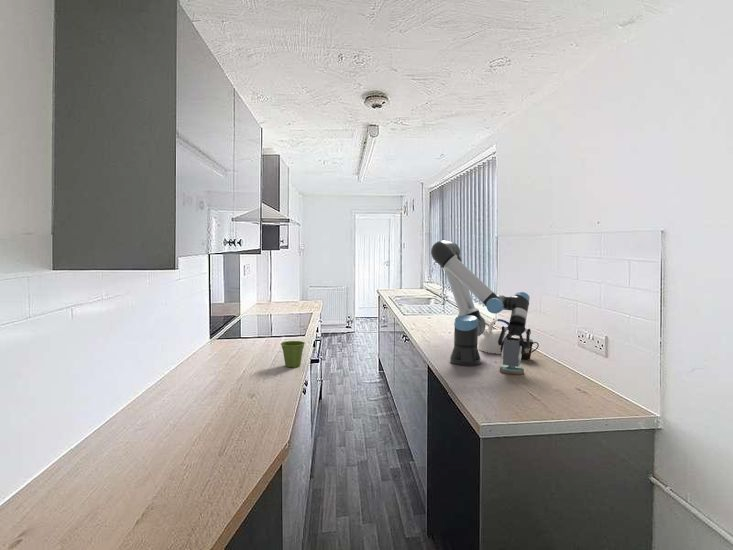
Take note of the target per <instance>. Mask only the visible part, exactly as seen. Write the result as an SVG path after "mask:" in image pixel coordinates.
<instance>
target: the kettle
mask: <svg viewBox="0 0 733 550" xmlns="http://www.w3.org/2000/svg"><path fill="white" fill-rule="evenodd" d="M496 322H501V323H504V324H506V325H507V327H508V326H509V322H510V321H507V320H504V319H500V318H495V319H492V320H491V321H490V323H489V325H488V328H487V329H486V328H485V330H484V332H483V333H482V334H481V335H482V336H480V339H479V341H478V342H479V343H478V348H479V349H478V351H479V350H480V351H481V352H483V351H484V353H487V352H488V354H494V353H496V354H495V355H502V352H501V350H500V349H501V345H498V340H499V337H500V334H501V331H502V329H493V326H494V324H495V323H496ZM507 334H508V332H507V331H506V332H505V335H504V338H505V337H506V336H507ZM504 338H503V340H504ZM503 340H502V341H503Z"/></svg>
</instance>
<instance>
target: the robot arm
mask: <svg viewBox="0 0 733 550" xmlns="http://www.w3.org/2000/svg"><path fill="white" fill-rule="evenodd" d="M430 254H431V257H432V259H433V260H434V261H435V263H437V265H439V266H440V269H441V270H444V272H445V275H446V277H447V280H448V283H449V287H450V289H451V292H452V295H453V298H454V301H455V303H456V307H457V309H458V315H457V317H456V318H455V319H454V324H453V325H454V332H453V333H454V335H453V337H454V341H453V343H454V344H453V348H452V352H451V354H450V357H449V358H450V359H449V361H451V362H453V363H455V364H454V365H457V364H458V365H459V366H463V365H464V367H465V366H466V367H472V366H473V367H474V366H479V365H480V364H481V362H482V361H481V356H480V352H479V349H478V342H479V341H478V340H479V339H478V337H481V335H483V334H482V333H483V332H484V330H485V329H486V327H487V326H486V320H485V319H484V317H483V315H481V312H480V310H479V309H478V308H476V307H475V304H474V302H473V298H472V295H471V293H472V294H473V295H474V296H475V297H476V298H477V299H478V300H479V301H480V302H481V303H482V304H483V305H484V306H485V307H486V310H487V311H488V312H489V313H491V314H499V313H500V312H502V311H511V312H510V313H511V314H510V318H509V321H508V322H509V326H508V325H507V326H501V330H502V331H501V334H500V337H499V340H498V345H501V349H500V350H501V352H502V354H500V357H501V359H502V360H503V348H504V340H503V338H504V335H505V332H506V333H507V336H506V337H511V338H513V336H517V337H518V338H520V339H522V340H521V344H522V346H520V351H519V357H518V359H519V361H521V362H522V360H521V356H522V354H523V355H524V352H525V349H526V348H528V349H529V345H530V339H531V337H530V335H531V334H532V331H531V328H528V329H527V328H526V323H527V317H528V312H529V306H530V300H531V299H530V295H529V294H528V293H527V292H524V291H519V292H516V293H515V294H514V295H505V294H504V295H502V294H496V293H495V292H494V291H493V290H492V289H491V288H490V287H489V286H488V285H486V284H485V283H484V281H482V280H481V279H480V278H479V277H478V276H477V275H476V274H475V273H473V271H472V270H470V269H469V268H468V267H467V266H466V265H465V264H464V263H463V260H462V258H461V248H460V247H459V245H458V244H457V243H456V242H454V241H452V240H439V241H436V242H435V243H434V244H433V245H432V247H431V250H430ZM523 333H526V335H525V336H526V345H525V344H524V341H523V338H524V337H523V335H522V334H523ZM506 337H505V338H506ZM505 338H504V339H505ZM502 340H503V341H502ZM451 362H450V363H451ZM453 363H452V364H453ZM458 365H457V366H458Z"/></svg>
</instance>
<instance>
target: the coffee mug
mask: <svg viewBox="0 0 733 550" xmlns="http://www.w3.org/2000/svg"><path fill="white" fill-rule="evenodd" d="M523 341H524V344H525V345H526V338H525V337H523ZM534 344H536V345H537V347H536V348H534V349H533V345H534ZM538 348H539V343H538V342H537V341H534V339H531V338H530V345H529V349H528V348H526V349H525V352H524V355H523V354H522V356H521V359H524V360H523V361H529V360H528V359H530V360H531V355H532V353H533V352H535V351H536V350H538Z"/></svg>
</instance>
